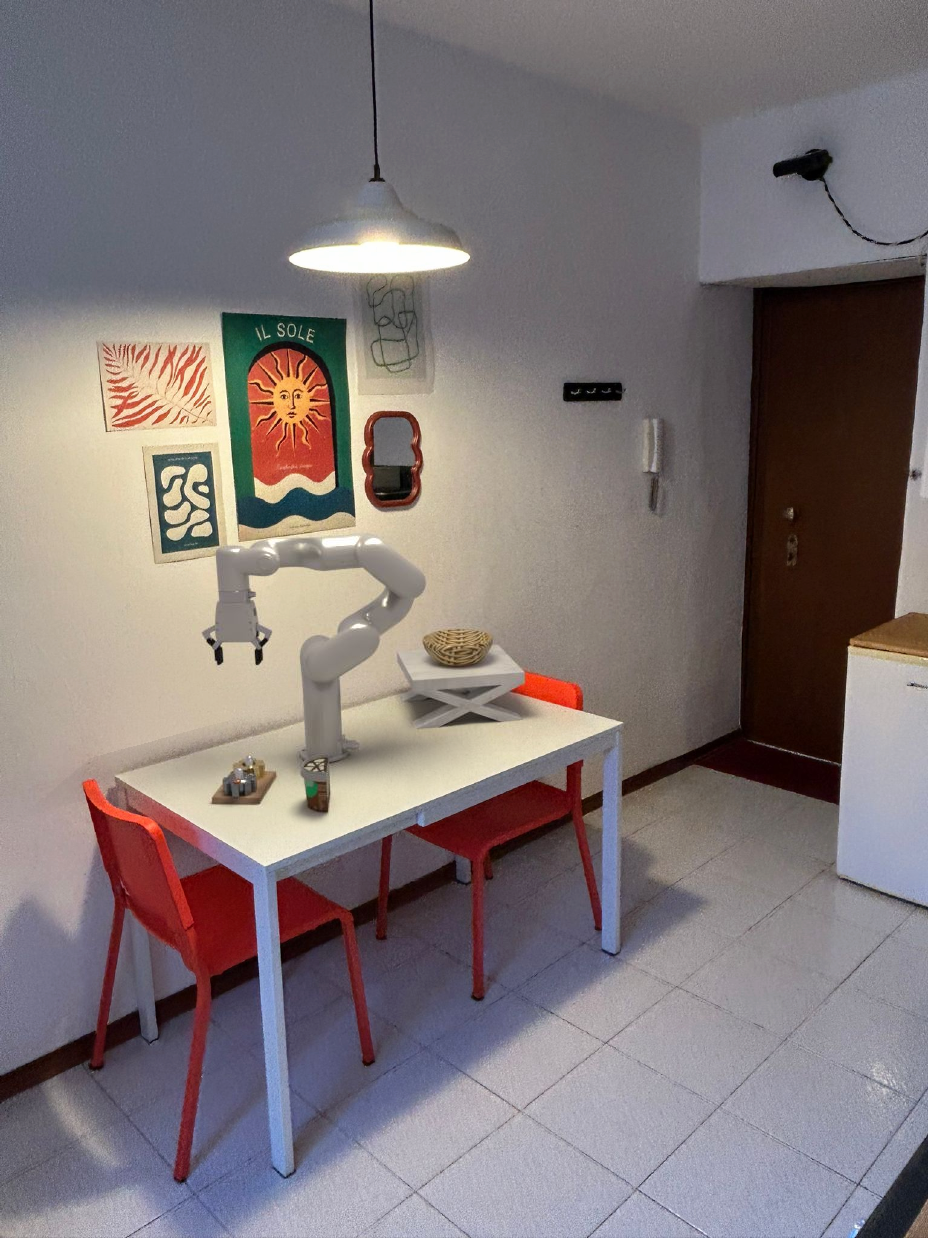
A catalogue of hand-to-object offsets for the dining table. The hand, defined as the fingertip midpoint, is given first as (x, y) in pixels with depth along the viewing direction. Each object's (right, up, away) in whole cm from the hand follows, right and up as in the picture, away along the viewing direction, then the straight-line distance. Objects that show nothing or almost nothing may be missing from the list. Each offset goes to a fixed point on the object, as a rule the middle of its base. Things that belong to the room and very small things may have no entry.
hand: (239, 663), depth 236 cm
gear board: (+4, -29, -11) cm, 32 cm away
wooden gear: (+4, -27, -7) cm, 28 cm away
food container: (+22, -31, -19) cm, 43 cm away
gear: (+4, -29, -15) cm, 33 cm away
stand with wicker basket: (+54, -16, +47) cm, 74 cm away
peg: (+4, -27, -7) cm, 28 cm away
